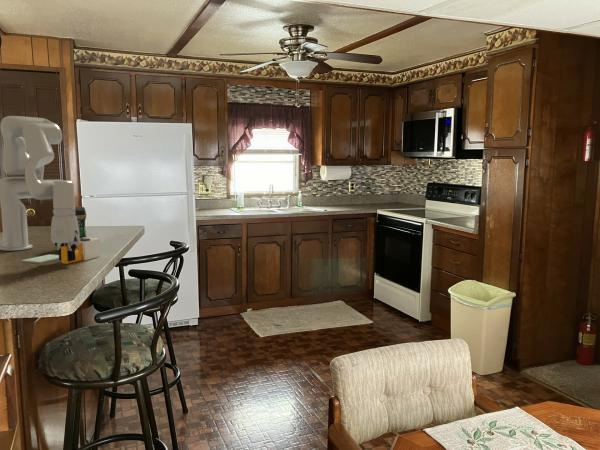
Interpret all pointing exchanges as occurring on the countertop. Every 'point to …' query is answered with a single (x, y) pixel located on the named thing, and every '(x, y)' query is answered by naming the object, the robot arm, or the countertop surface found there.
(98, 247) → the hollow square frame
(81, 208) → the coffee jar
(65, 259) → the orange branched block
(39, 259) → the mat
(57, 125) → the robot arm
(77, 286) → the countertop surface
